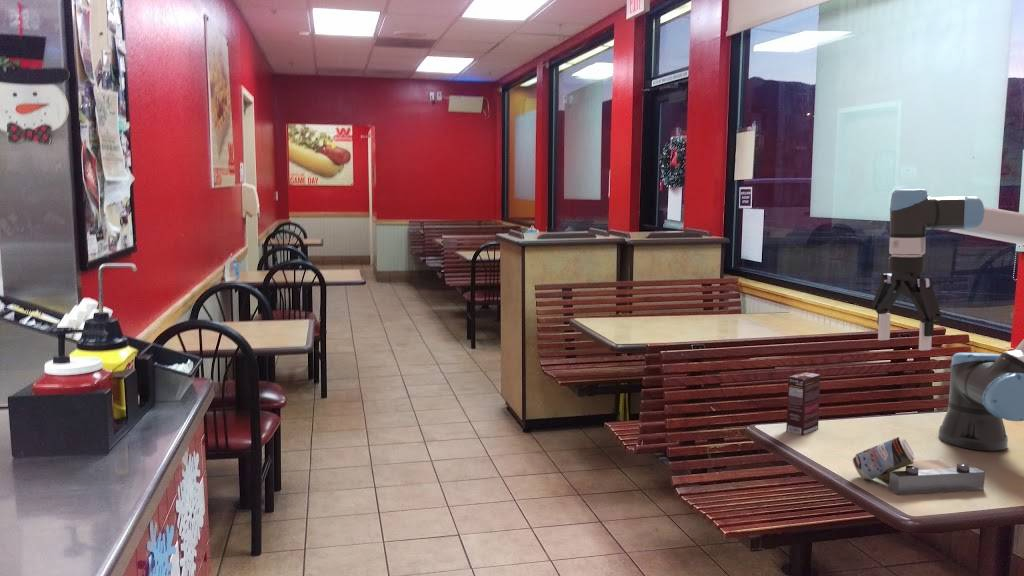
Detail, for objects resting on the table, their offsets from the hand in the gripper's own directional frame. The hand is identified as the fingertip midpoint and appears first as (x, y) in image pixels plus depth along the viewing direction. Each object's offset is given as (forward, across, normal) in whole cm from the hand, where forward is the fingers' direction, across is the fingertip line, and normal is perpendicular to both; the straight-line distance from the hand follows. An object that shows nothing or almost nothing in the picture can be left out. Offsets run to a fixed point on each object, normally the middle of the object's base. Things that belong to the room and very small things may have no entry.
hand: (903, 344), depth 183 cm
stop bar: (+27, +21, -8) cm, 35 cm away
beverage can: (+19, +17, -12) cm, 28 cm away
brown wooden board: (+28, +14, -6) cm, 32 cm away
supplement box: (+27, -20, -13) cm, 36 cm away
